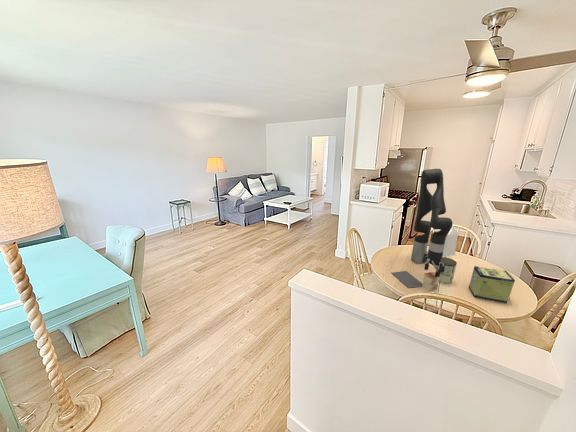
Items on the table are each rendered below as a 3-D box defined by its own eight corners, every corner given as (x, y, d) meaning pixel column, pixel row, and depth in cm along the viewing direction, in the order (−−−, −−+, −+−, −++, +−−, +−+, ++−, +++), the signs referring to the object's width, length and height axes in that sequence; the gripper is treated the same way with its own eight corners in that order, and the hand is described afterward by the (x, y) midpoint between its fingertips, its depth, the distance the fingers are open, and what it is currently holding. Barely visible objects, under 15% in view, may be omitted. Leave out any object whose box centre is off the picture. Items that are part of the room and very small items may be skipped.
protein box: (507, 303, 125) (515, 280, 120) (473, 297, 131) (480, 274, 126) (499, 292, 134) (506, 270, 129) (468, 287, 140) (473, 265, 135)
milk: (431, 251, 188) (436, 222, 180) (440, 248, 192) (446, 220, 184) (445, 257, 177) (451, 227, 169) (454, 254, 181) (461, 224, 173)
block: (431, 285, 143) (434, 271, 140) (437, 289, 138) (440, 275, 135) (421, 286, 141) (424, 273, 138) (427, 291, 137) (430, 277, 134)
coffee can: (432, 274, 155) (435, 256, 150) (449, 276, 151) (453, 258, 147) (436, 282, 145) (440, 263, 141) (454, 285, 142) (459, 265, 138)
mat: (406, 271, 159) (406, 270, 159) (425, 286, 142) (425, 285, 142) (391, 273, 157) (391, 272, 157) (408, 288, 140) (408, 287, 140)
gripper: (451, 254, 126) (446, 279, 131) (432, 244, 140) (427, 266, 144) (440, 255, 125) (435, 280, 130) (421, 245, 138) (417, 268, 143)
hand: (431, 273), depth 137 cm, fingers open, 8 cm apart
